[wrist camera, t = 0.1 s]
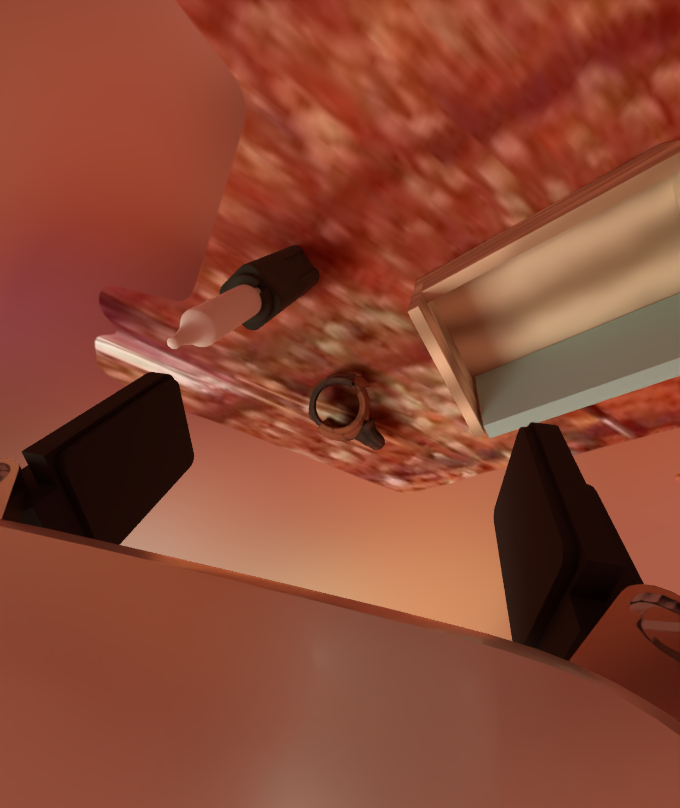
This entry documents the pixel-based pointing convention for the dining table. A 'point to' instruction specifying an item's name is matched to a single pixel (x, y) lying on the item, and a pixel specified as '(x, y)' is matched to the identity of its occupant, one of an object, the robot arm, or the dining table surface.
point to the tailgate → (583, 369)
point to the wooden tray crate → (554, 274)
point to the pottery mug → (356, 428)
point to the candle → (248, 298)
